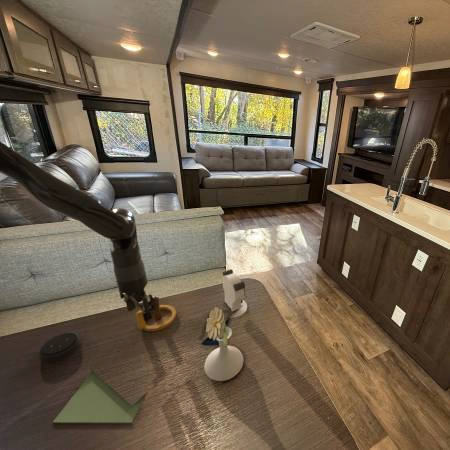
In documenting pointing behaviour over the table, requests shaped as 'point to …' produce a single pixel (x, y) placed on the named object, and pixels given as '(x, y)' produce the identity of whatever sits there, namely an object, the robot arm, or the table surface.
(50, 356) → the smart speaker
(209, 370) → the flower in vase
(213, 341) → the cell phone
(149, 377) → the table surface
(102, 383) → the olive green flat piece
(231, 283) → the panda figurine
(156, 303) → the stand
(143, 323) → the orange ring with tab
